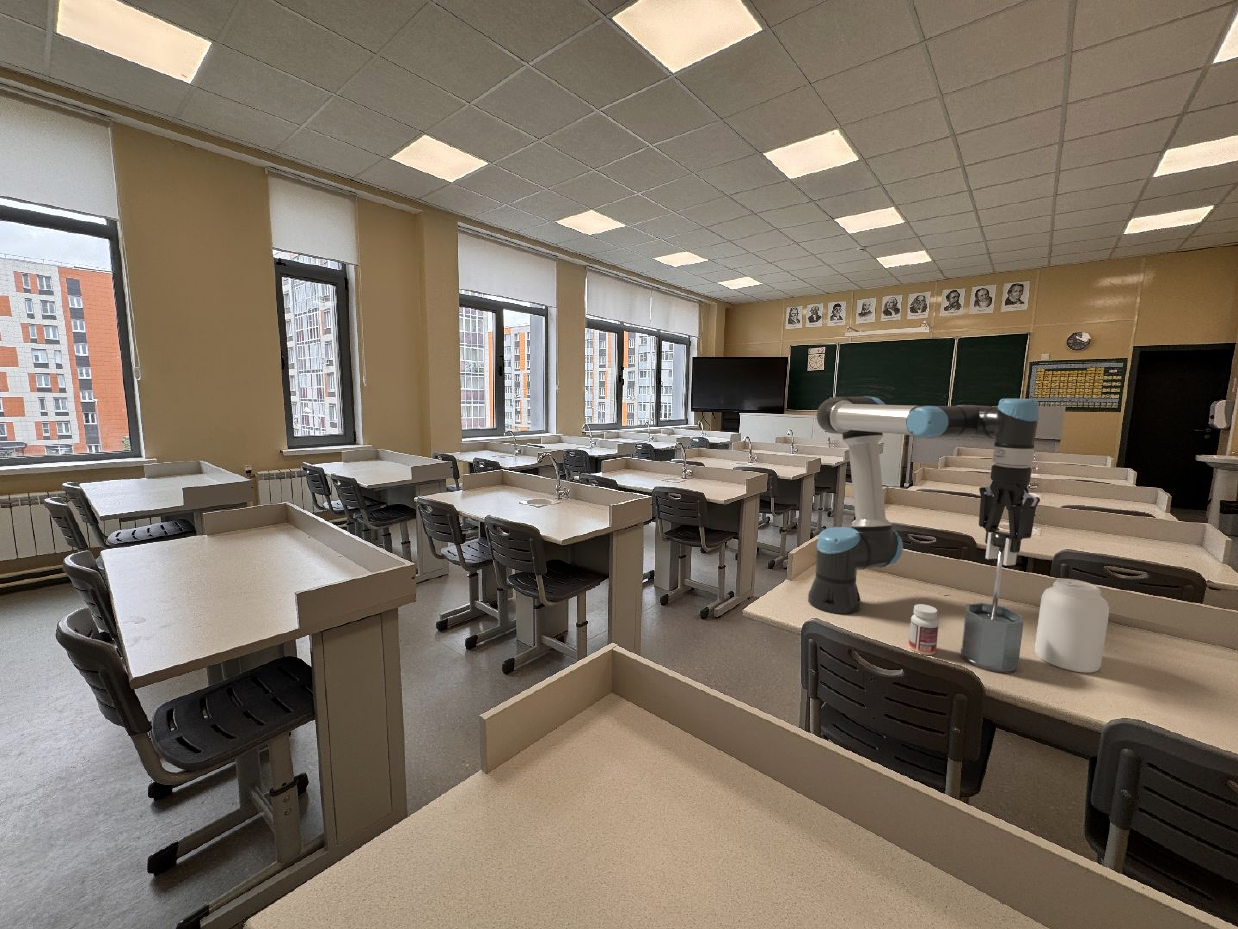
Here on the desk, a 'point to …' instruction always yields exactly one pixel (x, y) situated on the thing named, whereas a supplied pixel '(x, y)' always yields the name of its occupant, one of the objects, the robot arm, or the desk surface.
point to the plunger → (997, 574)
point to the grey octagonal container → (992, 639)
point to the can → (1072, 626)
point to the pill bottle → (924, 629)
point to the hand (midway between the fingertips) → (1000, 561)
